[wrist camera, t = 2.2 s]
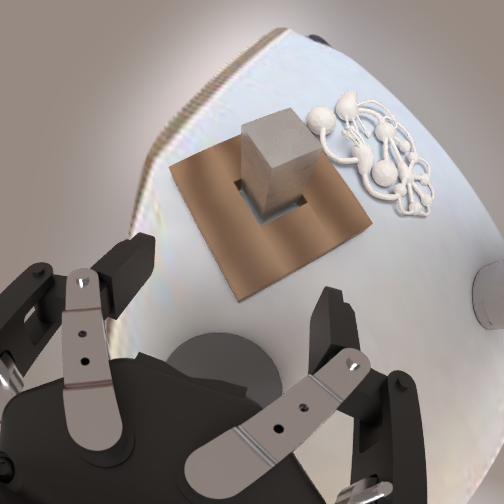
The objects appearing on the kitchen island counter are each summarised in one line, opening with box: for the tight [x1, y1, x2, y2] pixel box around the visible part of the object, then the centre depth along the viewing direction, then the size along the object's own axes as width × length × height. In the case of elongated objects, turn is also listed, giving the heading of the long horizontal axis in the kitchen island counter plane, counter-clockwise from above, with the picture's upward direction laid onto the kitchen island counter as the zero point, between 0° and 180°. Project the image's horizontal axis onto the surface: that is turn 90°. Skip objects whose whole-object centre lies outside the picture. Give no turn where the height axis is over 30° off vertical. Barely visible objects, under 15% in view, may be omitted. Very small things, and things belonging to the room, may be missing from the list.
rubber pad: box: [166, 333, 282, 408], centre depth 26 cm, size 12×12×1 cm
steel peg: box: [241, 108, 323, 227], centre depth 26 cm, size 4×4×12 cm
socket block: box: [169, 134, 373, 302], centre depth 30 cm, size 16×16×2 cm
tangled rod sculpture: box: [306, 91, 435, 216], centre depth 33 cm, size 19×14×4 cm
